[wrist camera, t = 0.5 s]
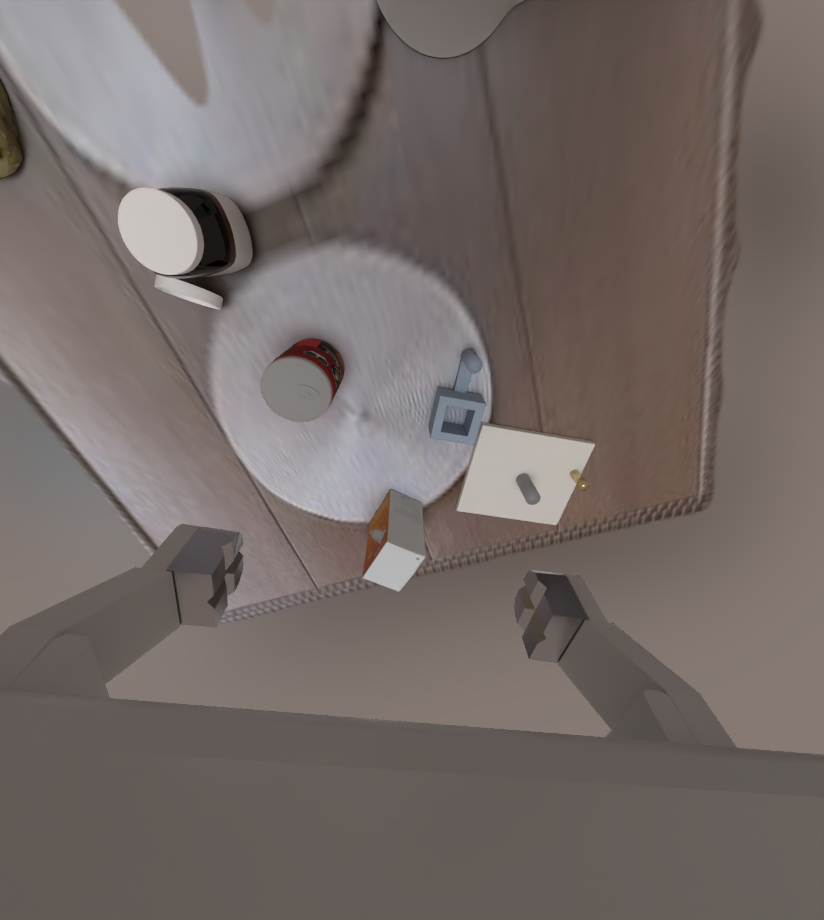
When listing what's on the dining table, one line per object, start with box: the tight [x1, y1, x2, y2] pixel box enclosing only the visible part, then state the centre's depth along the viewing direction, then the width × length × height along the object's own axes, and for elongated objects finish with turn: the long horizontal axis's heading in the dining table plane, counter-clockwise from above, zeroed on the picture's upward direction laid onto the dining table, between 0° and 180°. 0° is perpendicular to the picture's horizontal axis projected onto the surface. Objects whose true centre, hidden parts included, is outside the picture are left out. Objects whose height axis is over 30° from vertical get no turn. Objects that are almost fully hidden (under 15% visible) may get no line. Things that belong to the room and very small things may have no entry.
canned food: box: [261, 339, 344, 422], centre depth 46 cm, size 8×8×11 cm
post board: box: [456, 422, 595, 525], centre depth 57 cm, size 16×18×7 cm
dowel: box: [570, 470, 589, 491], centre depth 57 cm, size 1×1×4 cm
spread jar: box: [118, 187, 253, 310], centre depth 39 cm, size 12×11×12 cm
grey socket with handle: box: [429, 349, 486, 445], centre depth 51 cm, size 12×6×5 cm, turn 169°
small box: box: [362, 489, 426, 591], centre depth 58 cm, size 8×6×13 cm
